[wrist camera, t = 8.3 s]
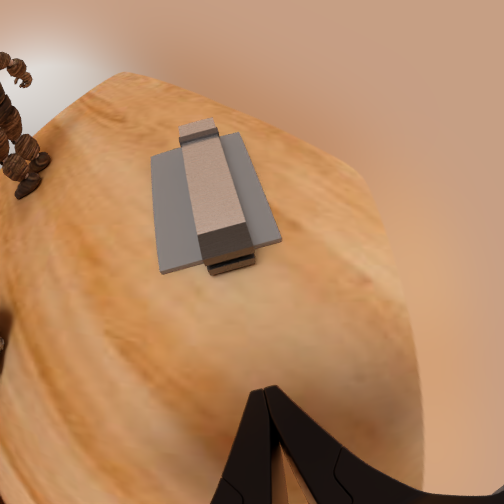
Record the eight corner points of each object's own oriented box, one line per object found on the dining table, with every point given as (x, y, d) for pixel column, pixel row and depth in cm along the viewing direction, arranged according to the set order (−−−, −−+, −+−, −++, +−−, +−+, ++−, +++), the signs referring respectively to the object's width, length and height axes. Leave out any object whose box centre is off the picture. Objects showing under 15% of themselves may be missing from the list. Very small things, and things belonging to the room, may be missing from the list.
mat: (281, 241, 22) (281, 237, 21) (162, 274, 21) (159, 271, 21) (239, 136, 28) (238, 132, 28) (152, 160, 28) (150, 156, 27)
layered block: (254, 244, 18) (213, 116, 24) (200, 259, 18) (177, 126, 24) (256, 263, 21) (217, 139, 27) (209, 276, 21) (184, 148, 27)
